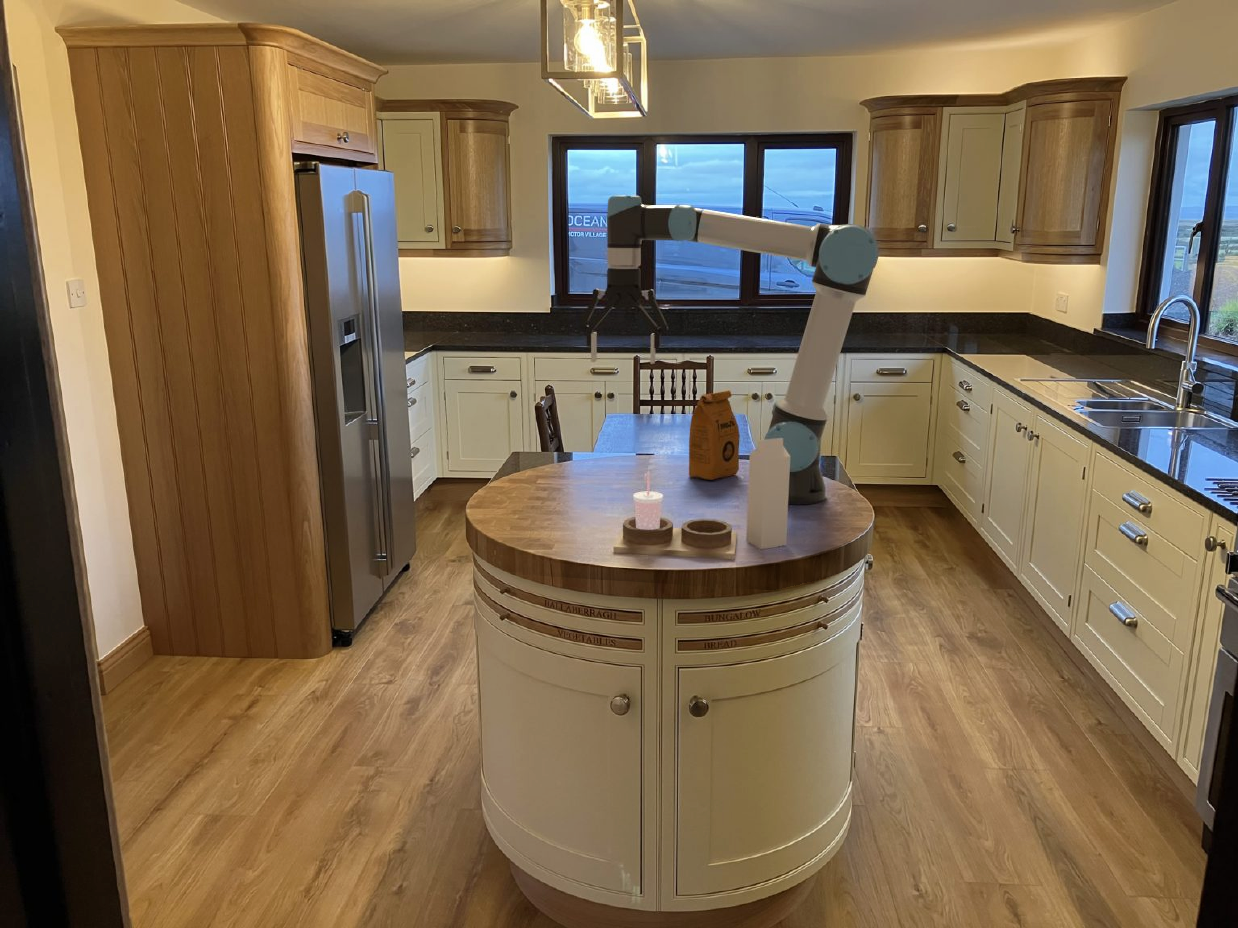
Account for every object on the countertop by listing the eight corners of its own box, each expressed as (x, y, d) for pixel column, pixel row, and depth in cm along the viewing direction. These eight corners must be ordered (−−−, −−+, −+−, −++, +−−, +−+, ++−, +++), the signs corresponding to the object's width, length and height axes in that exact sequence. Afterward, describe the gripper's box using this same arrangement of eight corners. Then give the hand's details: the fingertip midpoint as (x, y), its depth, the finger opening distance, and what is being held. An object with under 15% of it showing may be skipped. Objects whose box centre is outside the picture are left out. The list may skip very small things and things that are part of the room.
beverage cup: (658, 543, 198) (660, 476, 194) (629, 540, 199) (630, 474, 196) (665, 533, 203) (666, 468, 200) (636, 531, 205) (637, 466, 201)
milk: (786, 546, 200) (792, 441, 195) (760, 549, 198) (766, 443, 192) (770, 537, 206) (775, 434, 200) (745, 540, 203) (750, 437, 198)
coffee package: (744, 476, 253) (747, 392, 247) (710, 484, 245) (713, 397, 240) (716, 468, 260) (719, 386, 255) (683, 476, 252) (684, 392, 247)
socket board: (737, 536, 206) (737, 517, 204) (734, 559, 192) (734, 539, 191) (624, 530, 209) (624, 511, 208) (613, 552, 196) (613, 532, 195)
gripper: (681, 267, 220) (679, 361, 225) (572, 265, 224) (572, 358, 229) (677, 269, 213) (675, 366, 218) (565, 267, 217) (566, 362, 222)
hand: (623, 362), depth 224 cm, fingers open, 13 cm apart
